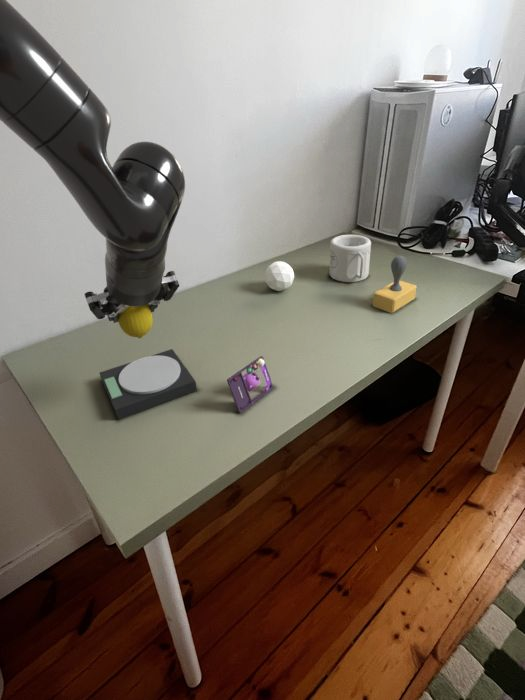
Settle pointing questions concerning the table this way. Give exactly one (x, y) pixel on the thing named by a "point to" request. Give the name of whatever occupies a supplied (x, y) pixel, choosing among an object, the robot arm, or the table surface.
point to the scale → (147, 383)
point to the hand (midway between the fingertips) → (132, 312)
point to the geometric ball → (279, 276)
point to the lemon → (136, 320)
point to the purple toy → (248, 384)
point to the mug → (349, 258)
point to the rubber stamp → (395, 289)
